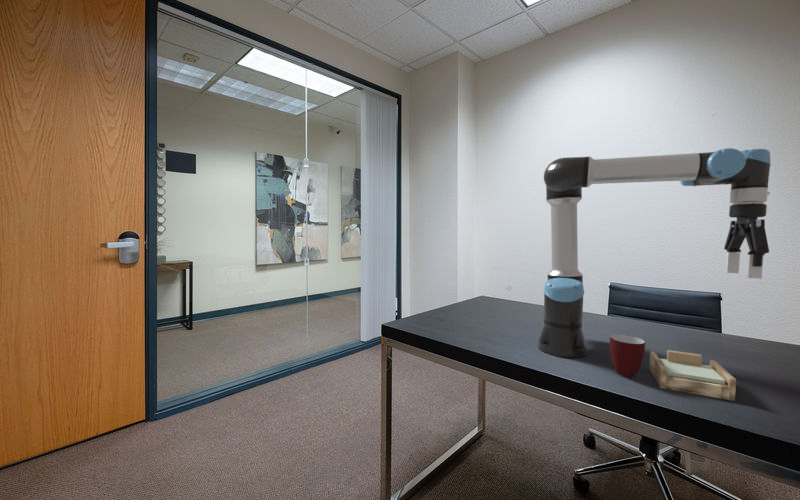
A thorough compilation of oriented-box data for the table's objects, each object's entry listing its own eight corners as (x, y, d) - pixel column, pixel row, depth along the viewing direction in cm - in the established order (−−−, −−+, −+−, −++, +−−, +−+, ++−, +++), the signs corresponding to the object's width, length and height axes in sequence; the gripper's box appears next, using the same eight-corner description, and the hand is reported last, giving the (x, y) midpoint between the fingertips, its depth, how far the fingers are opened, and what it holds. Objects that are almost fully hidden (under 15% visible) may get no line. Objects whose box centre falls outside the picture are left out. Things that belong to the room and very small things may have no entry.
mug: (600, 363, 99) (602, 331, 98) (631, 366, 97) (633, 333, 96) (614, 379, 88) (616, 342, 88) (649, 382, 86) (651, 345, 86)
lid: (666, 375, 84) (666, 360, 84) (657, 361, 93) (657, 348, 93) (724, 384, 79) (725, 369, 79) (709, 369, 88) (710, 355, 88)
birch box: (660, 387, 84) (661, 367, 83) (649, 368, 95) (650, 351, 95) (734, 401, 77) (736, 379, 77) (713, 379, 89) (714, 360, 88)
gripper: (792, 199, 84) (785, 281, 85) (744, 206, 106) (739, 271, 107) (751, 200, 87) (745, 279, 89) (714, 207, 109) (709, 270, 111)
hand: (742, 275), depth 98 cm, fingers open, 13 cm apart
